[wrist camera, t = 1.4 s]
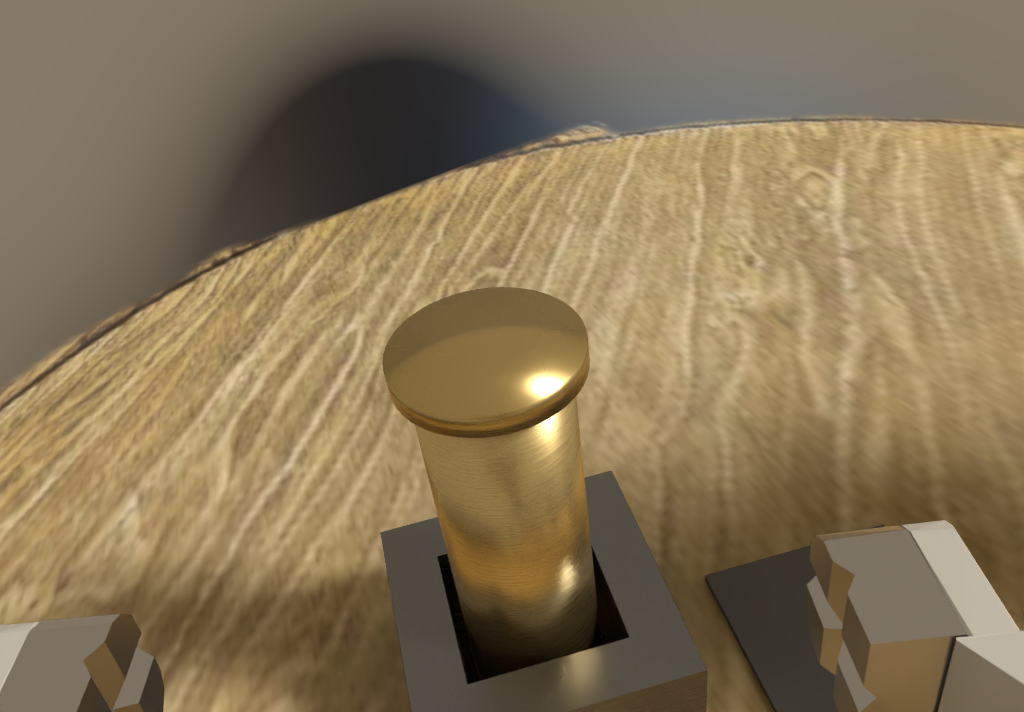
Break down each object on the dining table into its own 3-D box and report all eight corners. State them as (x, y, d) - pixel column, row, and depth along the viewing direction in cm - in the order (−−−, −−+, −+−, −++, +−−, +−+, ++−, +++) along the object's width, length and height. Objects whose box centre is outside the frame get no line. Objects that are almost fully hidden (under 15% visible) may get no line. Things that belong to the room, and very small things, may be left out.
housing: (617, 548, 50) (611, 470, 46) (705, 747, 40) (707, 670, 37) (403, 608, 48) (380, 532, 44) (444, 828, 39) (419, 755, 35)
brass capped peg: (589, 593, 47) (555, 270, 35) (637, 716, 42) (616, 382, 30) (455, 631, 47) (371, 314, 34) (485, 762, 41) (398, 438, 29)
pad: (882, 528, 48) (883, 524, 48) (1007, 691, 41) (1009, 688, 40) (705, 579, 47) (705, 575, 47) (798, 757, 39) (799, 753, 39)
